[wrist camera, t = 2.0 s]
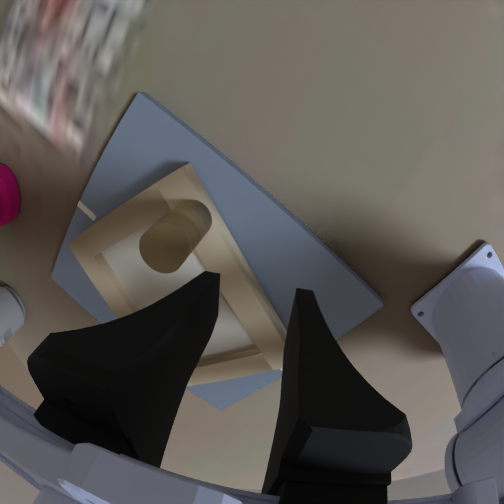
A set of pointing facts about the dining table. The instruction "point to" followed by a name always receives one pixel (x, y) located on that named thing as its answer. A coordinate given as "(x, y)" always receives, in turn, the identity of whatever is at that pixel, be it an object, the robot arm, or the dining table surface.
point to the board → (236, 219)
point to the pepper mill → (8, 196)
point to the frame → (184, 272)
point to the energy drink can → (10, 313)
